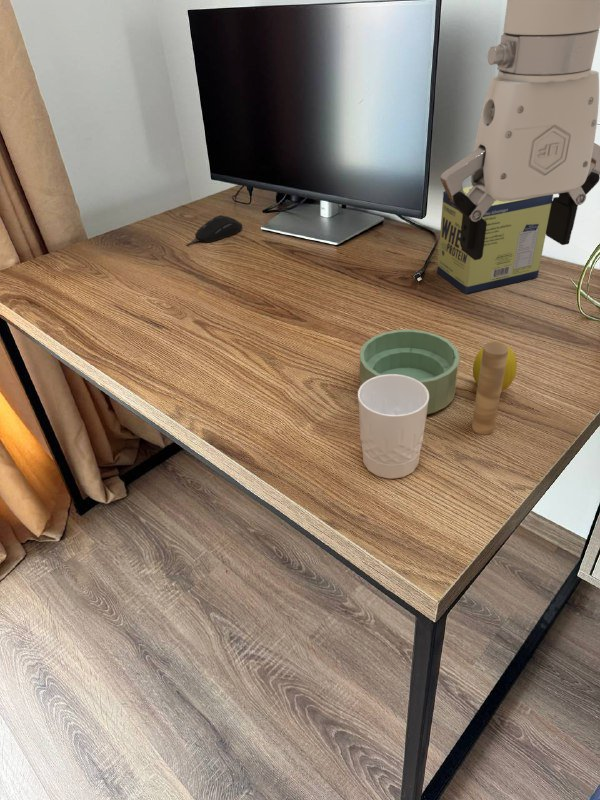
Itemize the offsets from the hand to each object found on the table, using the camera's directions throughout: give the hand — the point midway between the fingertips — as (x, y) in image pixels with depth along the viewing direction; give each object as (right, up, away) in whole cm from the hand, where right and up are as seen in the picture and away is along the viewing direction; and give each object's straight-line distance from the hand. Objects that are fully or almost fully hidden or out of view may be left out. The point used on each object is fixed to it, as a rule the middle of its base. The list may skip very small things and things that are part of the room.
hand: (514, 247), depth 60 cm
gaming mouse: (-42, +22, +74) cm, 88 cm away
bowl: (-7, -14, +22) cm, 27 cm away
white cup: (-11, -23, +11) cm, 28 cm away
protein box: (+13, +7, +50) cm, 52 cm away
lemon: (+4, -15, +21) cm, 26 cm away
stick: (+1, -19, +15) cm, 24 cm away
